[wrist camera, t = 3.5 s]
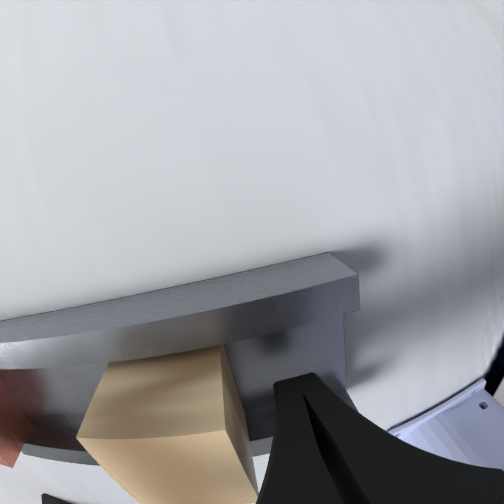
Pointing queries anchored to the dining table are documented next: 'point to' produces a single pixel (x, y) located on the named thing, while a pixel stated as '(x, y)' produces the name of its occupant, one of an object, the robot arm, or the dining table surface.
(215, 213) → the dining table surface
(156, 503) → the oak block
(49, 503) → the phone stand
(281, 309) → the chute
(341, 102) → the dining table surface
